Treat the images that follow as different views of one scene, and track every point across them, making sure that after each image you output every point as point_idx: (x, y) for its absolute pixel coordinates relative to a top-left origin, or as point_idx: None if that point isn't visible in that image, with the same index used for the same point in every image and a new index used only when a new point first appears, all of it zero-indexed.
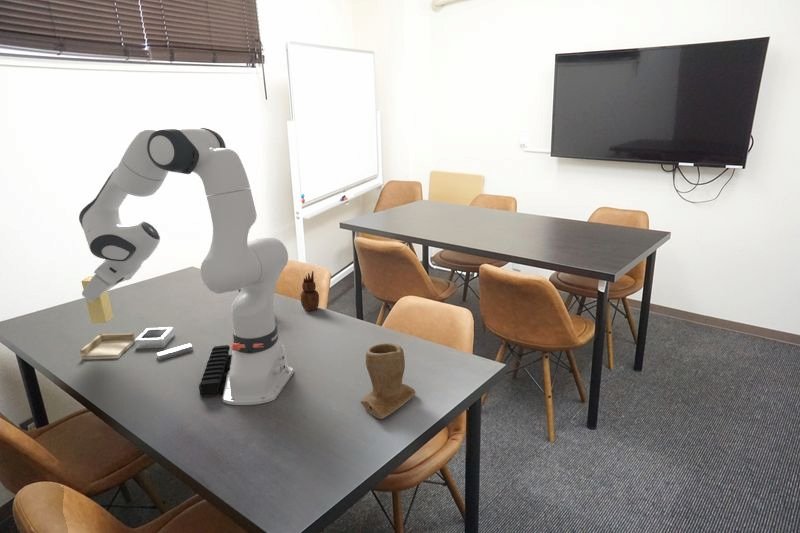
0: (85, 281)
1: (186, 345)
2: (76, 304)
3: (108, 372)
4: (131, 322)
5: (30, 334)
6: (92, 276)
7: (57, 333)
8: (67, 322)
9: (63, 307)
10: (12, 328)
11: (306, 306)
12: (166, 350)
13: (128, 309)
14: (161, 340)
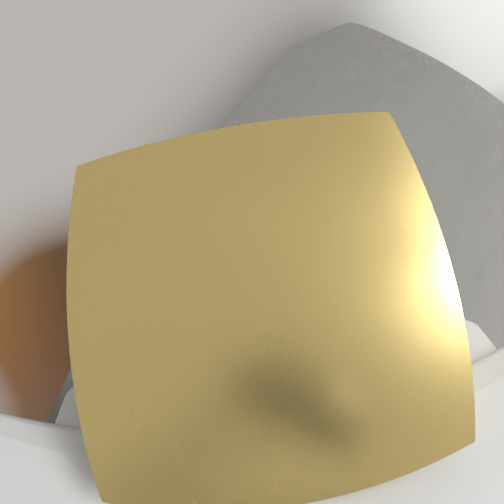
0: (71, 250)
1: None
2: (455, 78)
3: None
4: (453, 265)
5: (319, 68)
6: (389, 182)
7: (340, 110)
8: (393, 99)
9: (435, 64)
10: (331, 36)
11: None
12: None
13: (497, 198)
14: None
